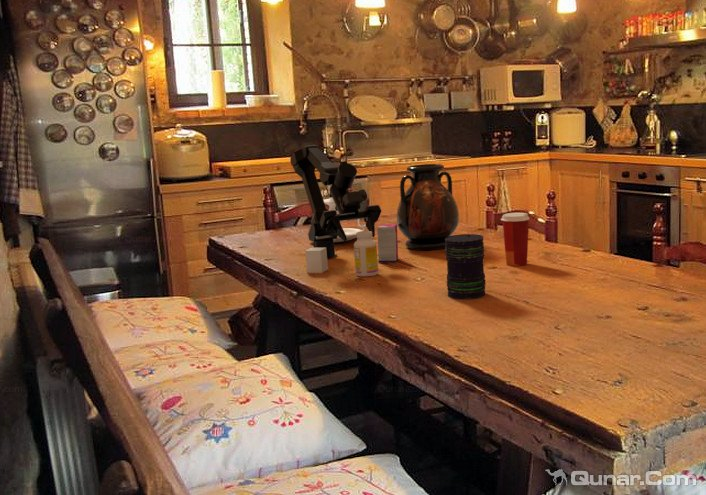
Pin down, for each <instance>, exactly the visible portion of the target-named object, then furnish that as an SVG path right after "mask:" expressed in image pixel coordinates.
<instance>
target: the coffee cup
mask: <svg viewBox="0 0 706 495" xmlns="http://www.w3.org/2000/svg"><path fill="white" fill-rule="evenodd" d="M529 220H530V217H529V214H528V213H526V212H509V213H504V214H503V215H502V216H501V218H500V221H501V222H502V231H503V232H502V233H503V240H504V241H503V242H504V243H503V244H504V253H505V261H506V263H505V264H506V266H509V267H523V266H526V265H527V264H528V249H529V245H528V244H529Z"/></svg>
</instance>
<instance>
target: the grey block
mask: <svg viewBox="0 0 706 495" xmlns="http://www.w3.org/2000/svg"><path fill="white" fill-rule="evenodd" d="M304 252H305V253H304V254H305V264H306V266H305V267H306V274H323V273H325V272H327V270H329V265H328V264H329V263H328V259H327V250H326V247H324V248H314V247H310V248H308V249H305V250H304Z"/></svg>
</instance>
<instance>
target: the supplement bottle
mask: <svg viewBox="0 0 706 495" xmlns="http://www.w3.org/2000/svg"><path fill="white" fill-rule="evenodd" d="M355 238H357V239H356V241H355V242H353V243H354V244H353V253H354V264H355V265H354V267H355V275H356V276H358V277H361V278H362V277H365V278H366V277H373V276H376V275H378V273H379V265H378V263H379V262H378V247H377V242H376V240H374V239H373V237H372V232H371V231H369V230H365V231H360V232H357V233H356V237H355Z"/></svg>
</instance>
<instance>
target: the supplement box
mask: <svg viewBox="0 0 706 495" xmlns="http://www.w3.org/2000/svg"><path fill="white" fill-rule="evenodd" d="M376 232H377V262H378V263H379V264H381V263H396V262H397V260H398V259H399V248H398V246H399V243H398V225H397V224H379V225H378V226H377V227H376Z"/></svg>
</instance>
